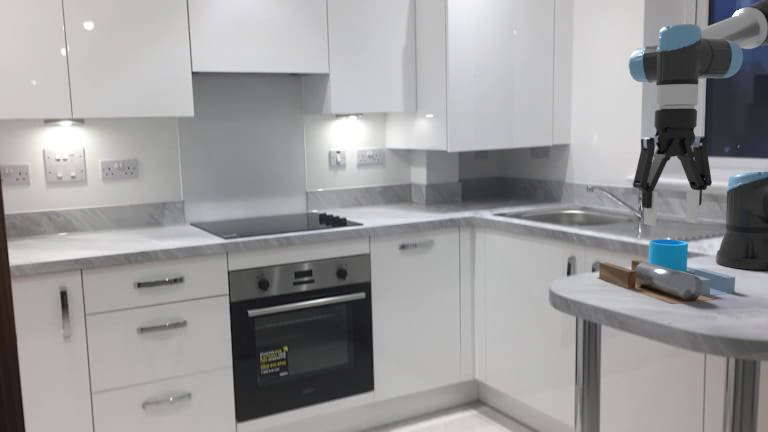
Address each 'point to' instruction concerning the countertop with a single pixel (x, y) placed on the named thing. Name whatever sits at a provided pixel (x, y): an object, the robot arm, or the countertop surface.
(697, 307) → the countertop surface
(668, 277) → the axle
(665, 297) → the wooden channel tray
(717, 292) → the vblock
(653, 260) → the mug
